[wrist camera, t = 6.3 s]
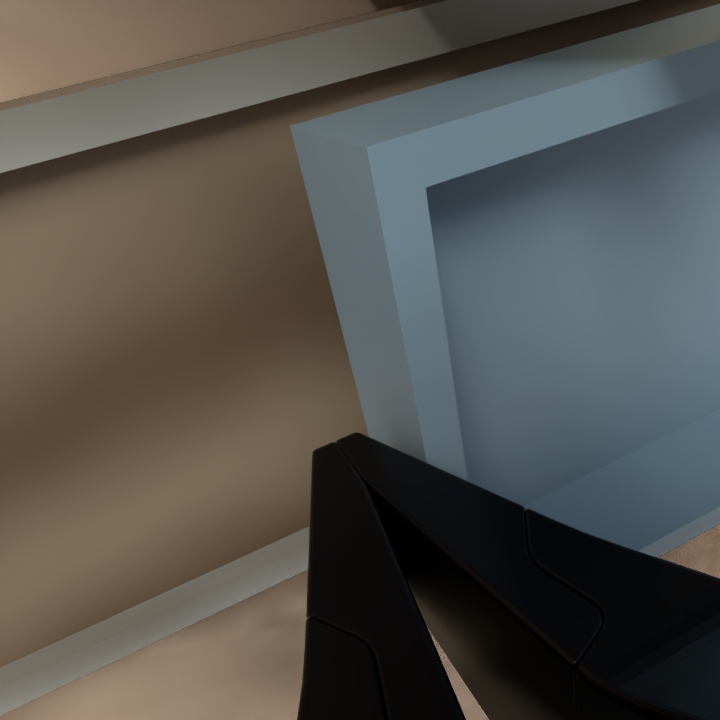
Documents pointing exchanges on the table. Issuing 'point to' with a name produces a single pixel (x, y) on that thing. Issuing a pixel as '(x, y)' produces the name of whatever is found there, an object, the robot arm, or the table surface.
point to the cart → (541, 276)
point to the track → (192, 320)
